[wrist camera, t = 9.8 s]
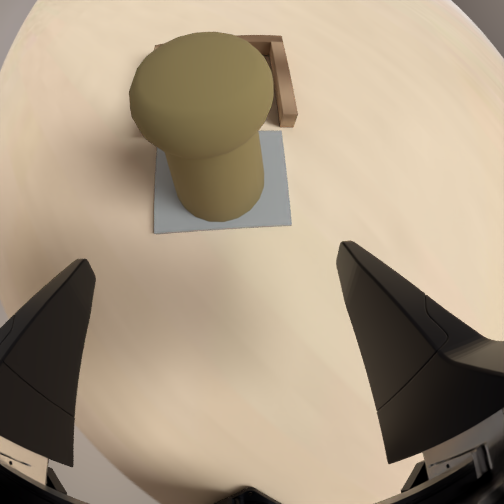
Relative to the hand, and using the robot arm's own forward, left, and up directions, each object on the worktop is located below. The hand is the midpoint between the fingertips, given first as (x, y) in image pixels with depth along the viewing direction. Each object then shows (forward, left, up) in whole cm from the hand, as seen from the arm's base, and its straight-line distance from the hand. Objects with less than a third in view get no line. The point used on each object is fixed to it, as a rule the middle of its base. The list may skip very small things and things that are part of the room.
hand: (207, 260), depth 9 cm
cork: (+5, -4, -8) cm, 10 cm away
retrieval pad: (+5, -4, -8) cm, 10 cm away
